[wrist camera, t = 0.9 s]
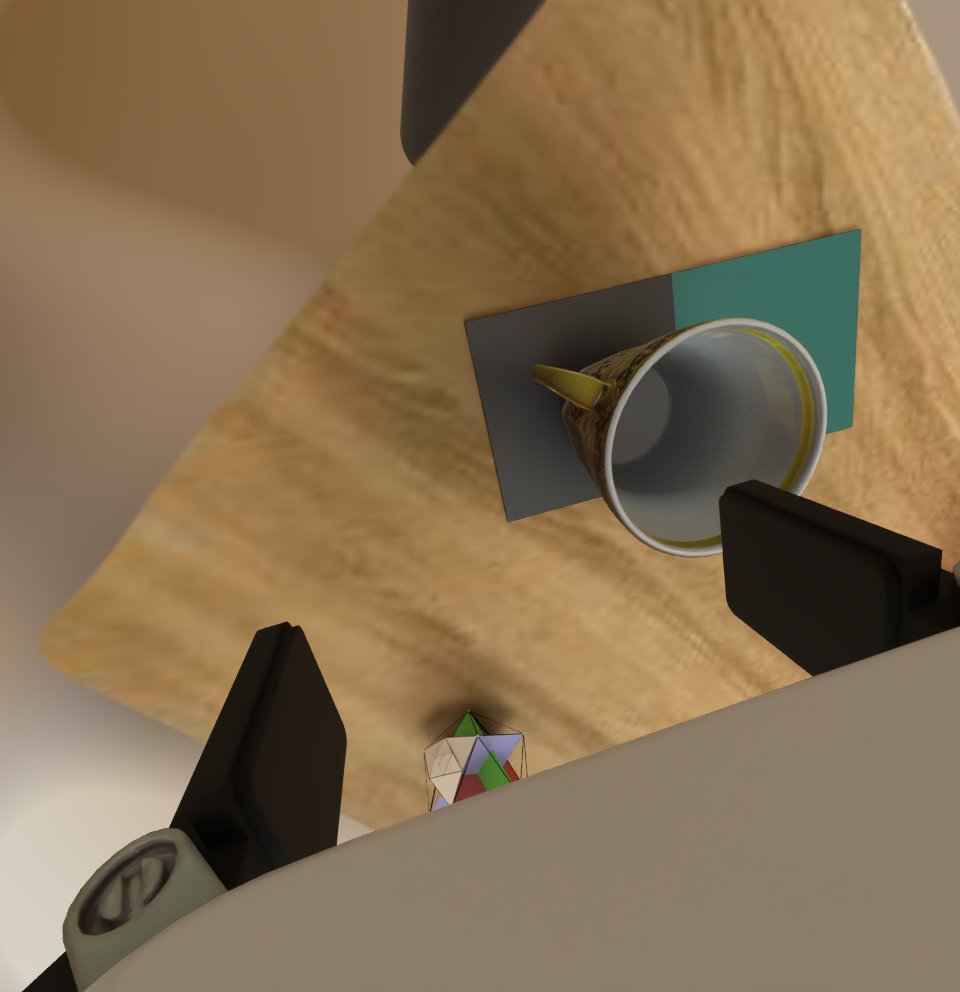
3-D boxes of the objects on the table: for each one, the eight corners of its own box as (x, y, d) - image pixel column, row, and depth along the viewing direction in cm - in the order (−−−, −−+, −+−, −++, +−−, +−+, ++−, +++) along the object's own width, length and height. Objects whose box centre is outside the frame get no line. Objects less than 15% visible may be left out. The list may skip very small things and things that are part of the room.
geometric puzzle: (563, 742, 34) (530, 809, 27) (516, 814, 36) (472, 898, 28) (481, 677, 37) (430, 723, 29) (439, 747, 38) (381, 808, 31)
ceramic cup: (720, 362, 30) (872, 375, 20) (646, 510, 32) (752, 583, 23) (529, 270, 26) (607, 235, 17) (461, 443, 29) (497, 497, 19)
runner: (464, 322, 27) (464, 322, 26) (858, 229, 29) (861, 228, 29) (507, 521, 31) (508, 522, 31) (850, 426, 33) (852, 426, 33)
